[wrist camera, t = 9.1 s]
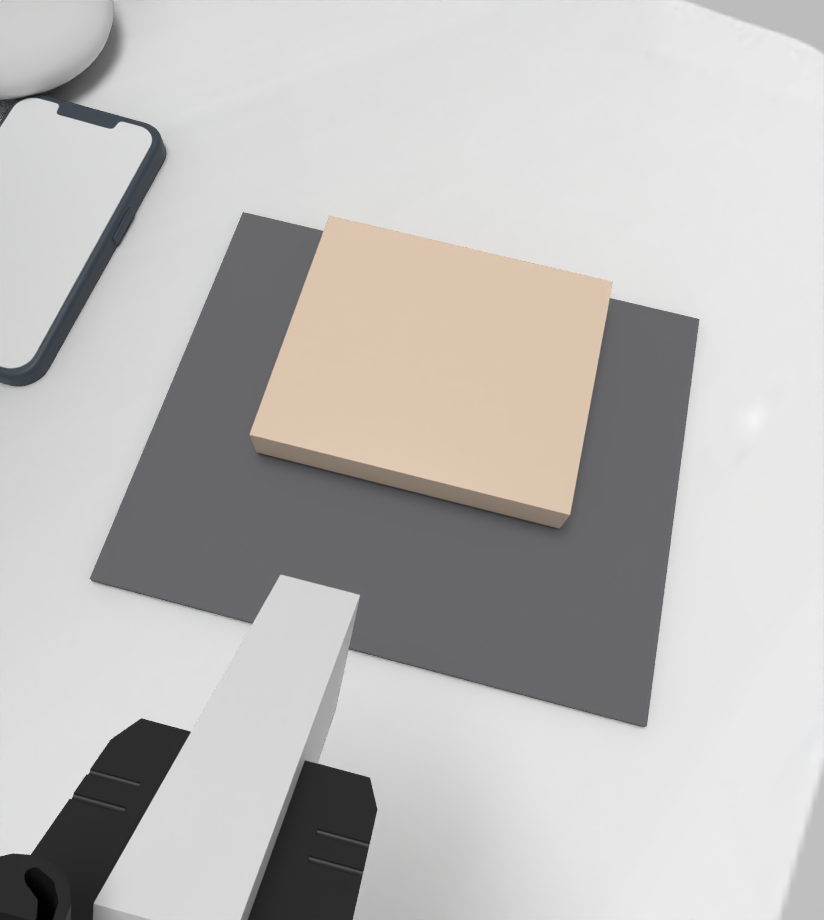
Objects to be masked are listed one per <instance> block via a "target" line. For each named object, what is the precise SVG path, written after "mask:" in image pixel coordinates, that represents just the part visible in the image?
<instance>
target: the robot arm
mask: <svg viewBox="0 0 824 920" xmlns="http://www.w3.org/2000/svg"><path fill="white" fill-rule="evenodd" d="M359 598H360V595H358V594H354V593H351V592H347V591H343V590H339V589H335V588H331V587H327V586H323V585H319V584H316V583H312V582H308V581H304V580H300V579H296V578H292V577H288V576H285V575H280V576H279V578H278V580H277V582H276V583H275V585H274V587H273V589H272V590H271V592H270V594H269V596H268V597H267V599H266V601H265V603H264V605H263V606H262V608H261V610H260V612H259V613H258V615H257V617H256V619H255V620H254V622H253V624H252V626H251V627H250V629H249V631H248V633H247V634H246V636H245V638H244V640H243V641H242V643H241V645H240V647H239V649H238V650H237V652H236V654H235V656H234V657H233V659H232V661H231V663H230V664H229V666H228V668H227V670H226V671H225V673H224V675H223V677H222V678H221V680H220V682H219V684H218V685H217V687H216V689H215V691H214V693H213V694H212V696H211V698H210V700H209V701H208V703H207V705H206V707H205V708H204V710H203V712H202V714H201V715H200V717H199V719H198V721H197V722H196V724H195V726H194V728H193V729H192V731H191V732H190V731H186V730H182V729H179V728H175V727H171V726H168V725H164V724H160V723H156V722H153V721H149V720H145V719H142V718H141V719H140V720H138V721H137V722H135V723H134V724H133V725H131V726H130V727H128V728H127V729H125V730H124V731H123V732H121V733H120V734H118V735H117V736H115V737H114V738H113V739H111V740H110V742H109V743H108V744H107V746H106V747H105V749H104V750H103V752H102V753H101V755H100V756H99V757H98V759H97V760H96V762H95V763H94V765H93V766H92V768H91V770H90V773H89V774H88V775H86V776H85V778H84V779H83V780H82V782H81V783H80V785H79V786H78V788H77V789H76V791H75V792H74V795H73V797H72V799H69V801H68V802H67V804H66V805H65V806H64V808H63V809H62V811H61V812H60V814H59V815H58V816H57V818H56V819H55V821H54V822H53V824H52V825H51V827H50V828H49V829H48V831H47V832H46V834H45V835H44V837H43V838H42V840H41V841H40V842H39V844H38V845H37V847H36V848H35V850H34V851H33V852H32V854H31V855H24V854H9V855H5V856H0V920H353V915H354V911H355V906H356V902H357V897H358V893H359V889H360V884H361V880H362V875H363V871H364V866H365V862H366V857H367V853H368V848H369V844H370V840H371V835H372V831H373V826H374V822H375V817H376V813H377V806H376V802H375V798H374V793H373V789H372V785H371V780H370V778H369V777H365V776H362V775H358V774H354V773H350V772H347V771H343V770H339V769H335V768H332V767H328V766H324V765H321V764H318V761H319V758H320V755H321V752H322V749H323V746H324V743H325V740H326V737H327V734H328V731H329V728H330V725H331V722H332V719H333V716H334V713H335V710H336V706H337V701H338V696H339V692H340V687H341V682H342V678H343V673H344V668H345V664H346V659H347V654H348V650H349V645H350V640H351V635H352V631H353V626H354V621H355V617H356V612H357V607H358V603H359Z"/></svg>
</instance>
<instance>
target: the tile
mask: <svg viewBox="0 0 824 920" xmlns="http://www.w3.org/2000/svg"><path fill="white" fill-rule="evenodd" d="M612 283H613V282H611V281H607V280H603V279H598V278H594V277H590V276H586V275H581V274H577V273H573V272H568V271H564V270H560V269H556V268H551V267H547V266H543V265H538V264H534V263H530V262H526V261H521V260H517V259H513V258H508V257H504V256H500V255H496V254H491V253H487V252H483V251H478V250H474V249H470V248H465V247H461V246H457V245H453V244H448V243H444V242H440V241H435V240H431V239H427V238H423V237H418V236H414V235H410V234H405V233H401V232H397V231H393V230H388V229H384V228H380V227H375V226H371V225H367V224H363V223H358V222H354V221H350V220H345V219H341V218H337V217H333V216H329V218H328V220H327V223H326V226H325V229H324V231H323V234H322V237H321V240H320V242H319V245H318V248H317V251H316V253H315V256H314V259H313V262H312V264H311V267H310V270H309V272H308V275H307V278H306V281H305V283H304V286H303V289H302V292H301V294H300V297H299V300H298V303H297V305H296V308H295V311H294V314H293V316H292V319H291V322H290V325H289V327H288V330H287V333H286V336H285V338H284V341H283V344H282V347H281V349H280V352H279V355H278V358H277V360H276V363H275V366H274V369H273V371H272V374H271V377H270V380H269V382H268V385H267V388H266V390H265V393H264V396H263V399H262V401H261V404H260V407H259V410H258V412H257V415H256V418H255V421H254V423H253V426H252V429H251V432H250V434H249V435H250V437H251V440H252V442H253V445H254V447H255V450H256V452H257V453H261V454H265V455H269V456H273V457H277V458H281V459H285V460H289V461H293V462H297V463H301V464H305V465H309V466H313V467H317V468H321V469H325V470H329V471H333V472H337V473H341V474H345V475H349V476H353V477H357V478H361V479H365V480H369V481H373V482H377V483H380V484H384V485H388V486H392V487H396V488H400V489H404V490H408V491H412V492H416V493H420V494H424V495H428V496H432V497H436V498H440V499H444V500H448V501H452V502H456V503H460V504H464V505H468V506H472V507H476V508H480V509H484V510H488V511H492V512H496V513H500V514H503V515H507V516H511V517H515V518H519V519H523V520H527V521H531V522H535V523H539V524H543V525H547V526H551V527H555V528H559V529H560V527H561V526H562V525H563V524H564V522H565V521H566V520H567V518H568V517H569V516H570V512H571V507H572V502H573V496H574V491H575V485H576V480H577V474H578V469H579V463H580V458H581V452H582V447H583V441H584V436H585V430H586V425H587V420H588V414H589V409H590V403H591V398H592V392H593V387H594V381H595V376H596V370H597V365H598V359H599V354H600V349H601V343H602V338H603V332H604V327H605V321H606V316H607V310H608V305H609V299H610V294H611V288H612Z"/></svg>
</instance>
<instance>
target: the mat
mask: <svg viewBox="0 0 824 920" xmlns="http://www.w3.org/2000/svg"><path fill="white" fill-rule="evenodd" d="M322 234H323V231H321V230H317V229H313V228H308V227H304V226H300V225H296V224H291V223H287V222H283V221H278V220H274V219H270V218H266V217H261V216H257V215H253V214H249V213H244V212H243V214H242V216H241V218H240V221H239V223H238V226H237V228H236V230H235V233H234V235H233V238H232V240H231V242H230V245H229V247H228V250H227V252H226V254H225V257H224V259H223V262H222V264H221V266H220V269H219V271H218V273H217V276H216V278H215V281H214V283H213V285H212V288H211V290H210V293H209V295H208V297H207V300H206V302H205V305H204V307H203V309H202V312H201V314H200V317H199V319H198V321H197V324H196V326H195V328H194V331H193V333H192V336H191V338H190V340H189V343H188V345H187V348H186V350H185V352H184V355H183V357H182V360H181V362H180V364H179V367H178V369H177V372H176V374H175V376H174V379H173V381H172V383H171V386H170V388H169V391H168V393H167V395H166V398H165V400H164V403H163V405H162V407H161V410H160V412H159V415H158V417H157V419H156V422H155V424H154V427H153V429H152V431H151V434H150V436H149V438H148V441H147V443H146V446H145V448H144V450H143V453H142V455H141V458H140V460H139V462H138V465H137V467H136V470H135V472H134V474H133V477H132V479H131V482H130V484H129V486H128V489H127V491H126V493H125V496H124V498H123V501H122V503H121V505H120V508H119V510H118V513H117V515H116V517H115V520H114V522H113V525H112V527H111V529H110V532H109V534H108V537H107V539H106V541H105V544H104V546H103V548H102V551H101V553H100V556H99V558H98V560H97V563H96V565H95V568H94V570H93V572H92V575H91V577H90V579H91V580H92V581H95V582H98V583H102V584H106V585H110V586H114V587H117V588H121V589H125V590H129V591H132V592H136V593H140V594H144V595H147V596H151V597H155V598H159V599H163V600H166V601H170V602H174V603H178V604H181V605H185V606H189V607H193V608H197V609H200V610H204V611H208V612H212V613H215V614H219V615H223V616H227V617H231V618H234V619H238V620H242V621H246V622H249V623H253V622H254V620H255V619H256V617H257V615H258V613H259V612H260V610H261V608H262V606H263V605H264V603H265V601H266V599H267V597H268V596H269V594H270V592H271V590H272V589H273V587H274V585H275V583H276V582H277V580H278V578H279V576H280V575H285V576H288V577H292V578H296V579H300V580H304V581H308V582H312V583H316V584H319V585H323V586H327V587H331V588H335V589H339V590H343V591H347V592H351V593H354V594H358V595H360V598H359V603H358V607H357V612H356V617H355V621H354V626H353V631H352V635H351V640H350V645H349V649H351V650H355V651H359V652H363V653H367V654H370V655H374V656H378V657H382V658H385V659H389V660H393V661H397V662H401V663H404V664H408V665H412V666H416V667H419V668H423V669H427V670H431V671H434V672H438V673H442V674H446V675H450V676H453V677H457V678H461V679H465V680H468V681H472V682H476V683H480V684H484V685H487V686H491V687H495V688H499V689H502V690H506V691H510V692H514V693H518V694H521V695H525V696H529V697H533V698H536V699H540V700H544V701H548V702H552V703H555V704H559V705H563V706H567V707H570V708H574V709H578V710H582V711H586V712H589V713H593V714H597V715H601V716H604V717H608V718H612V719H616V720H620V721H623V722H627V723H631V724H635V725H638V726H642V727H646V726H647V720H648V712H649V705H650V697H651V689H652V681H653V674H654V666H655V658H656V650H657V643H658V635H659V627H660V619H661V612H662V604H663V596H664V588H665V581H666V573H667V565H668V557H669V550H670V542H671V534H672V526H673V519H674V511H675V503H676V496H677V488H678V480H679V472H680V465H681V457H682V449H683V441H684V434H685V426H686V418H687V410H688V403H689V395H690V387H691V379H692V372H693V364H694V356H695V348H696V341H697V333H698V325H699V319H696V318H692V317H688V316H684V315H679V314H675V313H671V312H667V311H662V310H658V309H654V308H650V307H645V306H641V305H637V304H632V303H628V302H624V301H620V300H615V299H611V298H610V299H609V305H608V310H607V316H606V321H605V327H604V332H603V338H602V343H601V349H600V354H599V359H598V365H597V370H596V376H595V381H594V387H593V392H592V398H591V403H590V409H589V414H588V420H587V425H586V430H585V436H584V441H583V447H582V452H581V458H580V463H579V469H578V474H577V480H576V485H575V491H574V496H573V502H572V507H571V512H570V516H569V517H568V518H567V520H566V521H565V522H564V524H563V525H562V526H561V527H560V529H559V528H555V527H551V526H547V525H543V524H539V523H535V522H531V521H527V520H523V519H519V518H515V517H511V516H507V515H503V514H500V513H496V512H492V511H488V510H484V509H480V508H476V507H472V506H468V505H464V504H460V503H456V502H452V501H448V500H444V499H440V498H436V497H432V496H428V495H424V494H420V493H416V492H412V491H408V490H404V489H400V488H396V487H392V486H388V485H384V484H380V483H377V482H373V481H369V480H365V479H361V478H357V477H353V476H349V475H345V474H341V473H337V472H333V471H329V470H325V469H321V468H317V467H313V466H309V465H305V464H301V463H297V462H293V461H289V460H285V459H281V458H277V457H273V456H269V455H265V454H261V453H257V452H256V450H255V447H254V445H253V442H252V440H251V437H250V435H249V434H250V432H251V429H252V426H253V423H254V421H255V418H256V415H257V412H258V410H259V407H260V404H261V401H262V399H263V396H264V393H265V390H266V388H267V385H268V382H269V380H270V377H271V374H272V371H273V369H274V366H275V363H276V360H277V358H278V355H279V352H280V349H281V347H282V344H283V341H284V338H285V336H286V333H287V330H288V327H289V325H290V322H291V319H292V316H293V314H294V311H295V308H296V305H297V303H298V300H299V297H300V294H301V292H302V289H303V286H304V283H305V281H306V278H307V275H308V272H309V270H310V267H311V264H312V262H313V259H314V256H315V253H316V251H317V248H318V245H319V242H320V240H321V237H322Z"/></svg>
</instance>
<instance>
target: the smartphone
mask: <svg viewBox="0 0 824 920" xmlns="http://www.w3.org/2000/svg"><path fill="white" fill-rule="evenodd" d="M165 156H166V150H165V146H164V144H163V141H162V138H161V135H160V134H159V132H158V131H157V129H155V128H154V127H153V126H151V125H149V124H147V123H143V122H140V121H136V120H133V119H129V118H125V117H122V116H118V115H114V114H111V113H107V112H103V111H100V110H96V109H92V108H89V107H85V106H82V105H78V104H74V103H71V102H67V101H63V100H60V99H56V98H52V97H49V96H45V95H41V94H35V95H31V96H26V97H22V98H18V99H17V100H16V101H14V102H13V103H12V105H11V106H10V107H9V109H8V110H7V112H6V113H5V115H4V116H3V118H2V120H1V121H0V382H2V383H5V384H8V385H12V386H25V385H29V384H32V383H34V382H36V381H38V380H39V379H40V378H42V377H43V376H44V375H45V374H46V372H47V371H48V369H49V367H50V366H51V364H52V362H53V360H54V359H55V357H56V355H57V353H58V351H59V350H60V348H61V346H62V344H63V342H64V341H65V339H66V337H67V335H68V333H69V332H70V330H71V328H72V326H73V325H74V323H75V321H76V319H77V317H78V316H79V314H80V312H81V310H82V308H83V307H84V305H85V303H86V301H87V299H88V298H89V296H90V294H91V292H92V291H93V289H94V287H95V285H96V283H97V282H98V280H99V278H100V276H101V274H102V273H103V271H104V269H105V267H106V266H107V264H108V262H109V260H110V258H111V256H112V255H113V253H114V251H115V249H116V247H117V246H118V244H119V242H120V240H121V238H122V237H123V235H124V233H125V231H126V229H127V228H128V226H129V224H130V222H131V220H132V219H133V217H134V215H135V213H136V211H137V209H138V208H139V206H140V204H141V202H142V200H143V199H144V197H145V195H146V193H147V191H148V189H149V188H150V186H151V184H152V182H153V180H154V178H155V176H156V175H157V173H158V171H159V169H160V167H161V165H162V164H163V162H164V159H165Z"/></svg>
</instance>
